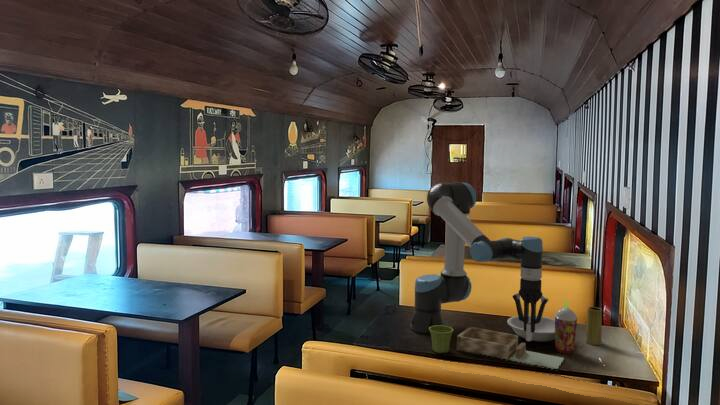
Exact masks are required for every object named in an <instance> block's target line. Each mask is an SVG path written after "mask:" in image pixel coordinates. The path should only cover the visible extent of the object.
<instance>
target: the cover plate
mask: <svg viewBox="0 0 720 405" xmlns="http://www.w3.org/2000/svg"><path fill="white" fill-rule="evenodd" d="M526 349H527V343H526V342H521V343H519V344H518V347H517V348H516V352H515V353H514V354H513V355H512V356H511V357H510V358H509V359H508V361H510V360H511V362H515V361H516V362H515V363H520V362H521V364H525V363H526V364H525V365H529V364H530V366H534V365H538V366H537V367H539V366H544V367H547V368H546V369H548V368H551V369H550V370H553V369H558V370H559V369H560V367H561V365H562V364H561V363H563V362H564V361H565V357H561V356H556V355H551V354H546V353H542V352H541V353H540V352H534V351H531V350H530V351H529V350H526ZM559 366H560V367H559ZM544 367H543V368H544Z"/></svg>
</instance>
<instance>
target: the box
mask: <svg viewBox="0 0 720 405" xmlns="http://www.w3.org/2000/svg"><path fill="white" fill-rule="evenodd" d="M518 346H519V335H518V334H511V333H507V332H506V333H505V332H501V331H497V330H496V331H495V330H491V329H490V330H489V329H485V328H479V327H474V326H469V327H467V328H465V329H464V330H463V331H462V332H460V333H459V334H458V335H456V351H461V352H464V353H469V354H473V355H474V354H475V355H479V354H482V355H481V356H483V355H487V356H486V357H488V356H492V357H491V358H493V357H497V358H496V359H498V358H501V359H500V360H502V359H506V360H505V361H509V358H510V357H511V356H512V355H513V354H514V353H515V352H516V348H517V347H518Z"/></svg>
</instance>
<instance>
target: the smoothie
mask: <svg viewBox="0 0 720 405" xmlns="http://www.w3.org/2000/svg"><path fill="white" fill-rule="evenodd" d="M553 316H554V319H555V339H554V340H555V342H554V344H555V345H554V346H555V348H556V351H557V352H558V353H561V354H566V355H567V354H572V353H573V351H574V350H575V344H576V335H577V334H576V333H577V326H578V325H577V324H578V316H577V315H576V313H575V312H574V311H573V309H571V308H569V307H568V300H565V305H564V307H562V308H559V309H558V310H557V311H556V312H555V314H554V315H553Z"/></svg>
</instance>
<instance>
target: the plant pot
mask: <svg viewBox="0 0 720 405" xmlns="http://www.w3.org/2000/svg"><path fill="white" fill-rule="evenodd" d="M429 330H430V333H431V334H430V336H431V345H432V346H431V347H432V350H433V352H435V353H438V354H443V353H448V352H449V351H450V350H449V349H450V343H451V338H452V335H453V332H454V329H453V327H450V326H448V325H447V326H446V325H445V326H441V325H436V326H431V327H429Z"/></svg>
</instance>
